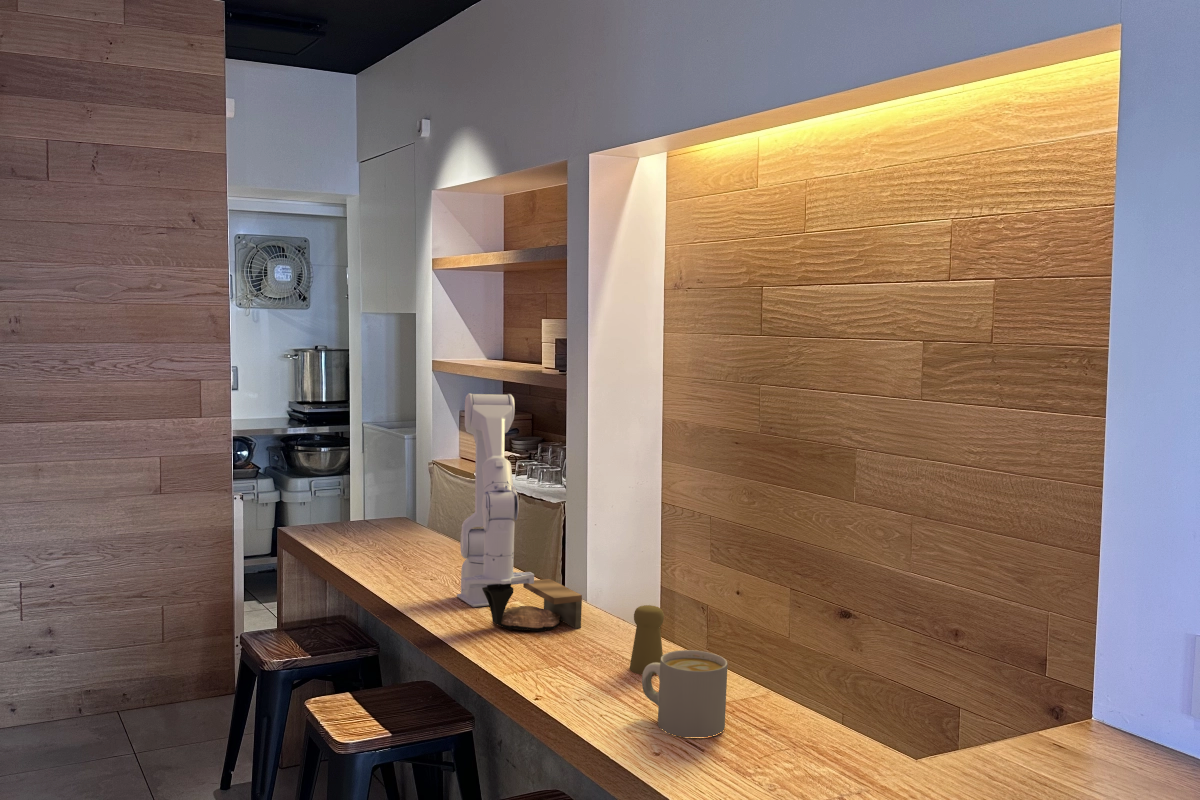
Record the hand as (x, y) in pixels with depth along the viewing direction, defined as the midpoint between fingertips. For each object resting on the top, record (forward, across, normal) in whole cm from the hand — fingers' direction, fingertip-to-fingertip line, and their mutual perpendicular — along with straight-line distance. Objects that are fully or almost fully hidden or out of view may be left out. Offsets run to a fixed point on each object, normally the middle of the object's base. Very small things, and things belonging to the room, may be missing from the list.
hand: (496, 623), depth 201 cm
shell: (+1, +6, 0) cm, 7 cm away
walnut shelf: (+1, +12, +1) cm, 12 cm away
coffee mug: (+2, +6, -55) cm, 55 cm away
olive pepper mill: (+2, +14, -32) cm, 35 cm away
